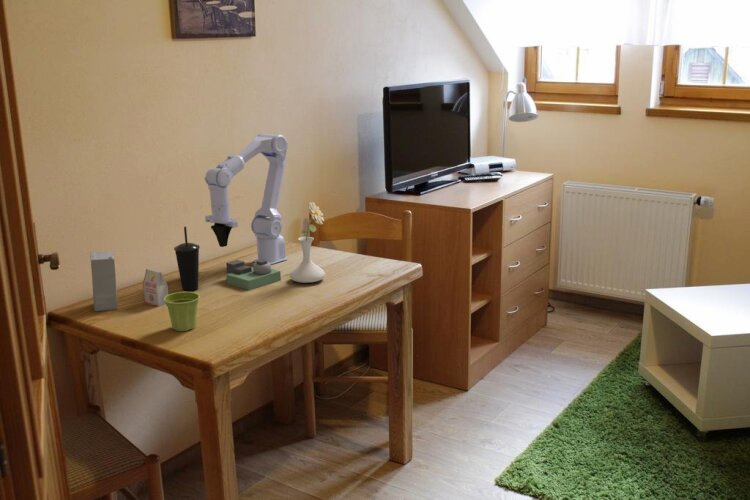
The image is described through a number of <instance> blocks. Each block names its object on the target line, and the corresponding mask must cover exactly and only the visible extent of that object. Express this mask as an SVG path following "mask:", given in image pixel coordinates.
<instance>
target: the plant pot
mask: <svg viewBox="0 0 750 500" xmlns="http://www.w3.org/2000/svg"><path fill="white" fill-rule="evenodd" d="M200 297H201V296H200V294H199V293H197V292H195V291H192V292H185V291H178V292H173V293H168V295H167V296H165V297H164V301H165V302H166V305H165V306H167V310H168V314H169V318H170V323H171V327H172V330H175V331H176V332H187V331H189V330H193V329H195V328H196V326H197V313H198V312H197V311H198V303H199V300H200Z"/></svg>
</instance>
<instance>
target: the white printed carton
mask: <svg viewBox="0 0 750 500" xmlns="http://www.w3.org/2000/svg"><path fill="white" fill-rule="evenodd" d="M142 291H143V300H144V304H147V305H152V306H154V307H158V308H160V307H163V306H167V305H166V302H165V301H164V297H165V296H167V295H169V288H168V284H167V282H166V280H165V278H164V276H163V274H162V272H160V271H157V270H154V269H148V268H145V273H144V277H143V280H142Z"/></svg>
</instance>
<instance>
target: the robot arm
mask: <svg viewBox="0 0 750 500" xmlns="http://www.w3.org/2000/svg"><path fill="white" fill-rule="evenodd" d="M252 139H253V140H252V141H251V142H250V143H249V144H248V145H247V146H246V147H244V149H242V150H241V152H239V153H238V154H228V155H227V158H225V160H223V161H222V162H221V163H220V162H219V163H218V164H217V166H216V167H211V168H209V169H208V170H207V171H206V173H205V177H204V181H205V183H206V184H207V186H208V190H209V198H210V209H211V214H210V215H205V216H204V218H205V223H210V224H213V225H210V229H211V230H212V231H213V234H214V235H215V237H216V240H217V243H218V246H219V247H221V248H223V247H228V242H229V237H230V234H231V231H232V229H235V228H239V221H238V220H235V219H233V218H232V217H231V214H230V213H231V211H230V209H231V208H230V200H229V196H230V195H229V185H231V183H232V179H233V178H234V176H236V175H238V173H239V172H241V171H242V170H243V169H244V168H245V163H247V162H248V161H250V160H251V159H253V158H254V157H256V156H257V155H260V154H261V155H262V156H264V157H265V158H266V159H267V161H268V162H269V163H268V164H269V165H268V170H267V171H268V172H267V176H266V180H265V186H264V192H263V197H262V203H261V206H260V208H259V209H257V210H256V211H255V213H254V216H253V219H252V221H251V223H250V229H251V231H252V233H254V237H256V246H257V247H256V250H257V251H256V252H257V258H256V259H253V260H252V262H253V263H256V261H259V260H266V261H267V262H270V263H271V265H273V264H276V263H281V262H284V261H287V260H288V257H286V256H287V255H286V253H287V252H286V241H285V238H284V237H283V235H281V233H282V229H283V225H282V220H283V217H282V216H281V214H280V213H279V211H278V206H279V202H280V197H281V193H282V186H283V182H284V176H285V169H286V165H287V153H288V147H289V143H288V140H287V139H286V138H285V136H284V135H282V134H272V133H263V132H260V133H258V134H257V136H254V137H253V138H252Z"/></svg>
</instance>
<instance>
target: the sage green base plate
mask: <svg viewBox="0 0 750 500" xmlns="http://www.w3.org/2000/svg"><path fill="white" fill-rule="evenodd" d="M250 267H251V268H252V272H249V273H245V274H242V275H238V274H235V273H229V274H227V273H226V277H225V278H226V284H228V285H231V286H235V287H238V288H240V289H241V288H242V289H244V290H248V291H251V290H253V289H256V288H260V287H264V286H266V285H270V284H273V283H277V282H279V281H281V280H282V277H281V274H282V273H281V270H279V269H274V268H272V264H271V263H270V262H267V261H266V260H259V261H256V262H253V264H252V266H250Z"/></svg>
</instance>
